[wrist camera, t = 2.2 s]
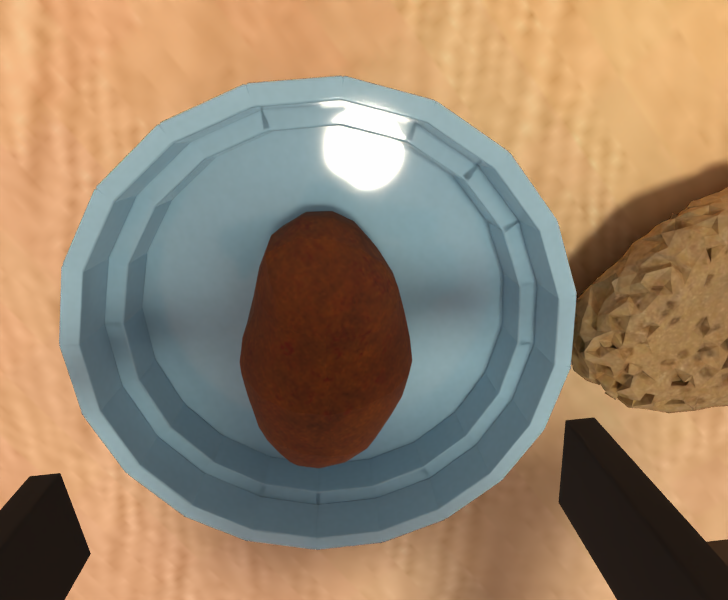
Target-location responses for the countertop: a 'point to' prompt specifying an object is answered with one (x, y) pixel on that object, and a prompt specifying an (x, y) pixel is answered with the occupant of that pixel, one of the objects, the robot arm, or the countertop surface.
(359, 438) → the potato
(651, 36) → the countertop surface
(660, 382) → the sponge
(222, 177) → the bowl
